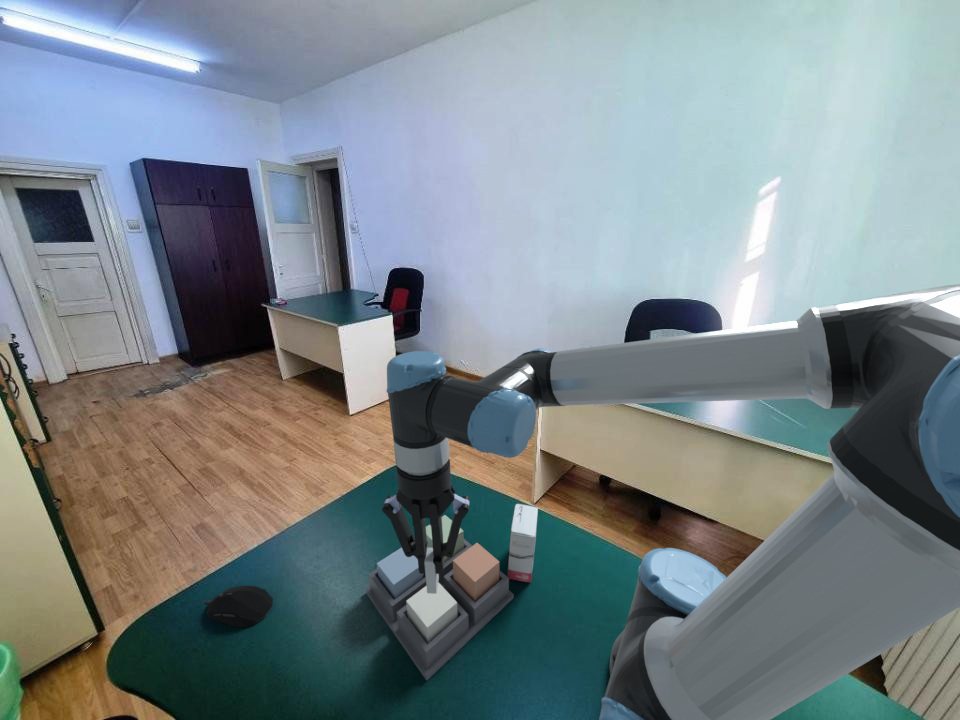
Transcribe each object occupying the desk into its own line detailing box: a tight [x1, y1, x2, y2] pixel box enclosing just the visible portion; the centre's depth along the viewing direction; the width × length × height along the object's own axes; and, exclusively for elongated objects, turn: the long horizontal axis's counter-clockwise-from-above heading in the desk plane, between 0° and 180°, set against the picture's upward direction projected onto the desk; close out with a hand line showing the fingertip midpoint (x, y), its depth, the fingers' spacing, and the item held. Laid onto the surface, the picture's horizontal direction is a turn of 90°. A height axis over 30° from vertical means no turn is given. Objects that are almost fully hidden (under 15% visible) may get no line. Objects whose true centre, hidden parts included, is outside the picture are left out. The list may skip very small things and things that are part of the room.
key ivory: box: [406, 582, 458, 644], centre depth 62 cm, size 6×6×5 cm
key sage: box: [426, 514, 465, 563], centre depth 75 cm, size 6×6×5 cm
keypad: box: [365, 538, 515, 682], centre depth 70 cm, size 20×20×5 cm
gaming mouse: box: [201, 585, 274, 628], centre depth 68 cm, size 6×15×4 cm, turn 81°
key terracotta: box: [453, 542, 500, 602], centre depth 68 cm, size 6×6×5 cm
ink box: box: [507, 503, 539, 583], centre depth 76 cm, size 9×5×12 cm, turn 169°
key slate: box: [376, 546, 423, 600], centre depth 69 cm, size 6×6×5 cm
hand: (433, 585), depth 60 cm, fingers closed
